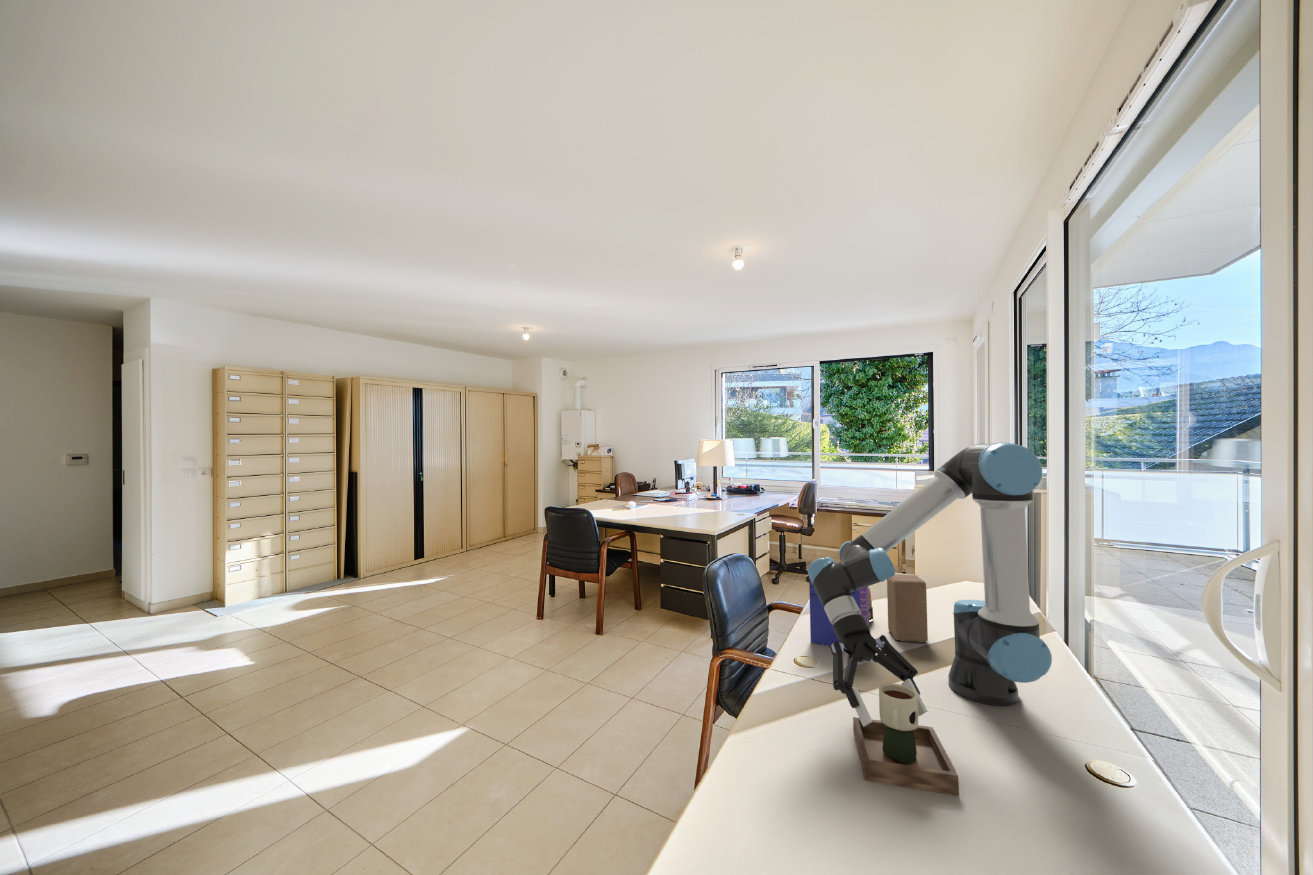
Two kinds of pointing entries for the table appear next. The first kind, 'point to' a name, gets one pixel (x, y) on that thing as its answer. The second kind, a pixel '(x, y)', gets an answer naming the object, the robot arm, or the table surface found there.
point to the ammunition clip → (870, 606)
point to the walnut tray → (921, 774)
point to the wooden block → (907, 608)
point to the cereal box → (820, 622)
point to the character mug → (899, 721)
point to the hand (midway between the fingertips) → (895, 719)
